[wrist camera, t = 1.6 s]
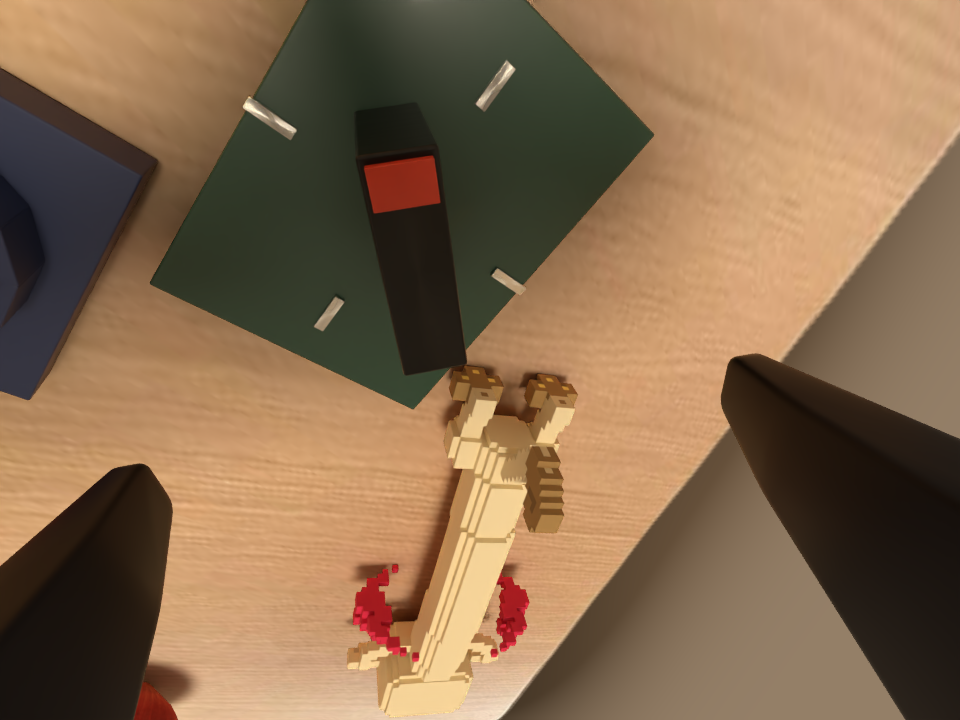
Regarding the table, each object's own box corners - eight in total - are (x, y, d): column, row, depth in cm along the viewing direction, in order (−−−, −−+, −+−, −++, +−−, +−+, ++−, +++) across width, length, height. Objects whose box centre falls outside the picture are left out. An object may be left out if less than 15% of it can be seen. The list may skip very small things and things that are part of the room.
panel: (409, 367, 24) (415, 413, 22) (170, 243, 19) (143, 285, 17) (620, 115, 20) (659, 138, 17) (378, -132, 15) (384, -151, 12)
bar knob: (445, 289, 19) (469, 370, 15) (393, 298, 19) (404, 383, 15) (417, 101, 15) (440, 147, 12) (353, 110, 15) (354, 160, 12)
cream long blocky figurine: (402, 345, 25) (333, 674, 36) (427, 476, 18) (330, 837, 29) (595, 368, 28) (476, 666, 39) (685, 489, 21) (506, 812, 32)
